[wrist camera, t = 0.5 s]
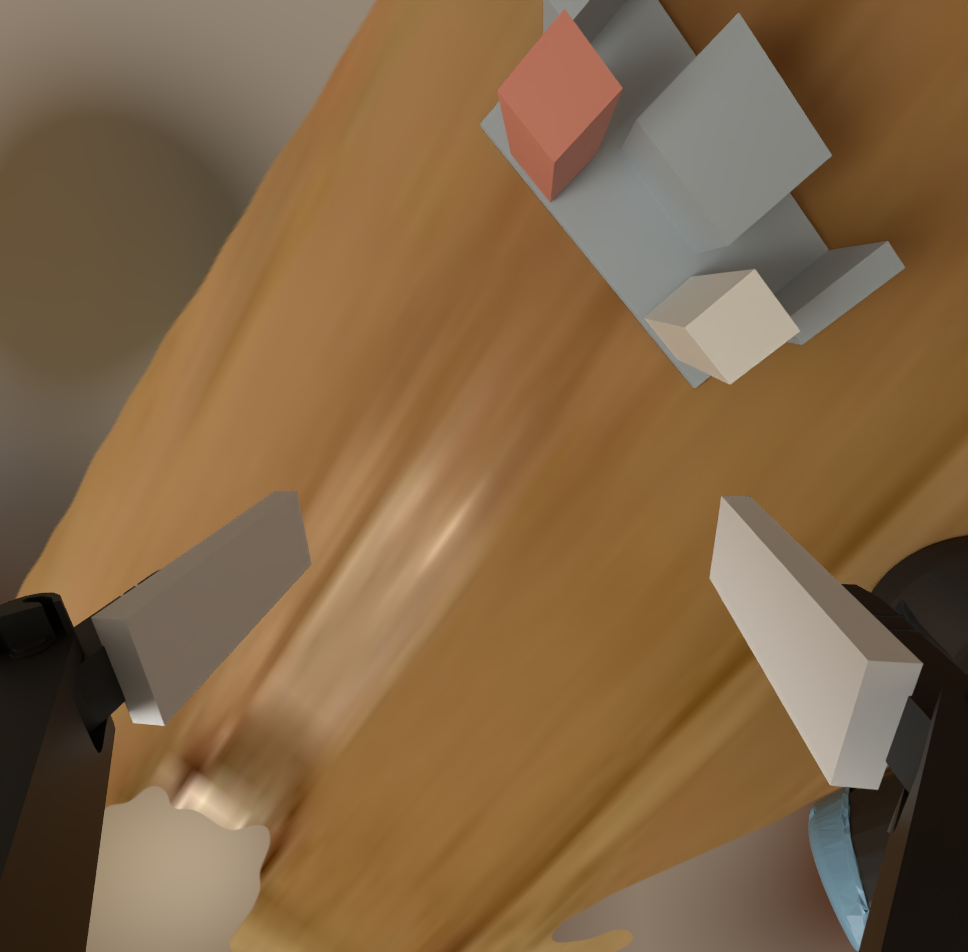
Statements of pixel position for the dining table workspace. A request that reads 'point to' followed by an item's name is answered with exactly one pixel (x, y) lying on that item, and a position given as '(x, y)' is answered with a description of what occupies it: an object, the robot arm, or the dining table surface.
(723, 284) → the cream plug
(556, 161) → the red plug
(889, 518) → the dining table surface
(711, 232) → the slot block
